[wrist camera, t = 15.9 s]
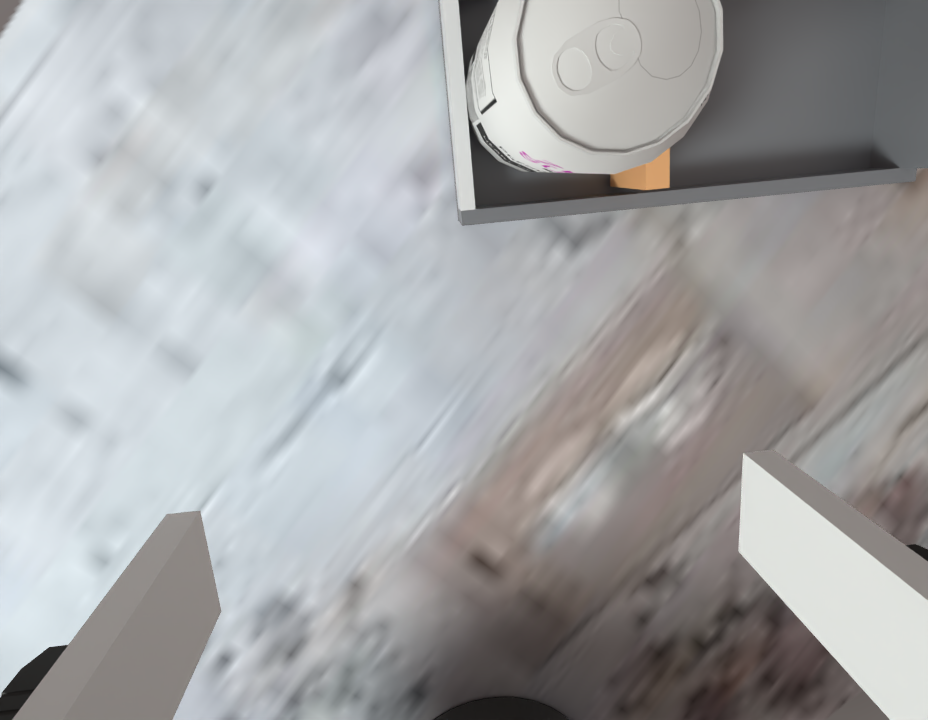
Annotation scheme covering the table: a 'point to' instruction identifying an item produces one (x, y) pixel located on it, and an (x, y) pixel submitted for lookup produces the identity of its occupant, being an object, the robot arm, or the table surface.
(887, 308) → the table surface
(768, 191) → the pusher lane
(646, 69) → the supplement can
